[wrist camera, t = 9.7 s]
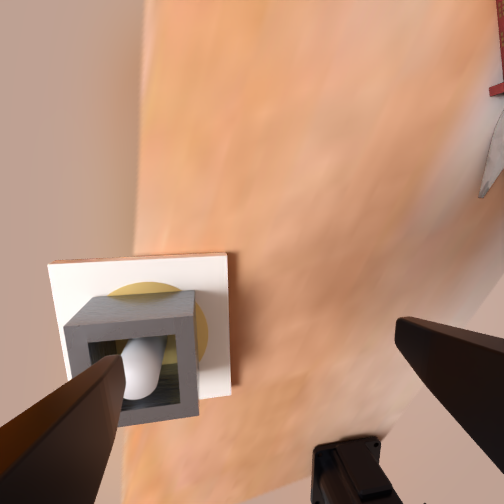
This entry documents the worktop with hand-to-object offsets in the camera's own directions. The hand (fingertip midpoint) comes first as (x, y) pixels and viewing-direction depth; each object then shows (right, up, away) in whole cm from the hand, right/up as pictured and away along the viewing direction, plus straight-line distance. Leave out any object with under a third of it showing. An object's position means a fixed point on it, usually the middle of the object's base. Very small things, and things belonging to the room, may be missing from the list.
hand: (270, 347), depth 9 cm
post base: (-8, -3, +11) cm, 14 cm away
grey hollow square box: (-8, -3, +10) cm, 13 cm away
